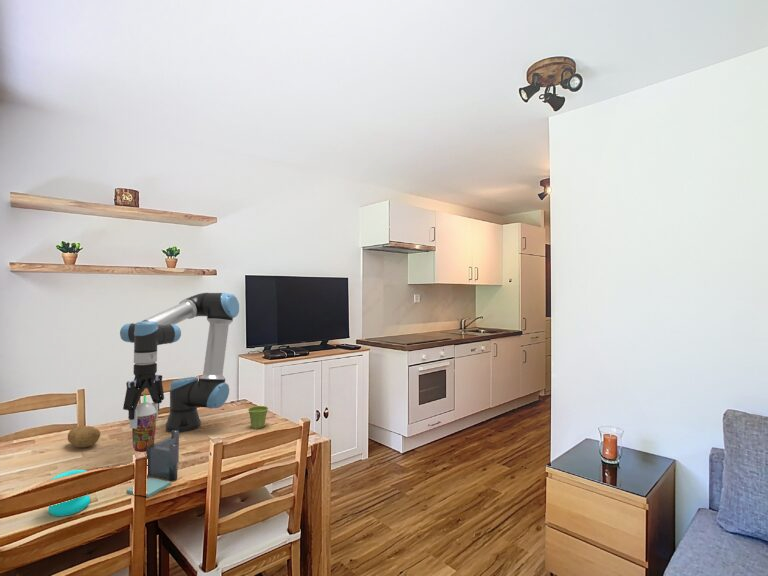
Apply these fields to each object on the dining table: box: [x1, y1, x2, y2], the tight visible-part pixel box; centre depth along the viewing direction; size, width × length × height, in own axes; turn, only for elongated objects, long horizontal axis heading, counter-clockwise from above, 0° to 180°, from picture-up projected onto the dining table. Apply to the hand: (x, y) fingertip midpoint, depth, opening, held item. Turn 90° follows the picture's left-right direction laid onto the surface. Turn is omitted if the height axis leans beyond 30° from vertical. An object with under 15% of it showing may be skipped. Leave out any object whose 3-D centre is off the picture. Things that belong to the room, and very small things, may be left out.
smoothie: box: [131, 394, 157, 453], centre depth 152 cm, size 8×8×20 cm
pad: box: [126, 477, 172, 498], centre depth 135 cm, size 9×9×1 cm
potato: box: [67, 425, 101, 448], centre depth 169 cm, size 10×14×8 cm
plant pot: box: [247, 405, 269, 430], centre depth 197 cm, size 9×9×9 cm
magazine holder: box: [145, 430, 180, 482], centre depth 149 cm, size 13×14×12 cm
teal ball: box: [47, 469, 91, 517], centre depth 122 cm, size 10×10×10 cm
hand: (144, 424), depth 152 cm, fingers closed on smoothie, 8 cm apart
